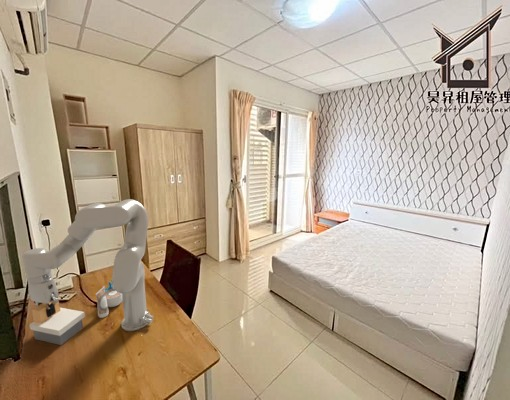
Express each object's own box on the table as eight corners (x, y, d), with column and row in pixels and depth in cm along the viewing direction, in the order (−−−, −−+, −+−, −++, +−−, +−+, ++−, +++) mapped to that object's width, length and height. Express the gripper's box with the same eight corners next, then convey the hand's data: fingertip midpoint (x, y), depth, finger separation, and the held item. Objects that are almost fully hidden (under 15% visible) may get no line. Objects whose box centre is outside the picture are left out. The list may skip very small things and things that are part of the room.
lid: (85, 316, 105) (82, 300, 104) (59, 335, 95) (56, 318, 93) (57, 311, 108) (54, 295, 107) (30, 329, 97) (26, 312, 96)
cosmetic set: (108, 320, 111) (104, 286, 107) (89, 320, 111) (84, 285, 107) (134, 289, 135) (131, 260, 131) (118, 289, 135) (115, 260, 131)
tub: (83, 327, 106) (81, 316, 105) (61, 345, 96) (59, 333, 95) (58, 322, 109) (56, 311, 107) (34, 339, 99) (32, 327, 98)
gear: (99, 298, 126) (119, 292, 129) (96, 288, 125) (117, 283, 128) (105, 288, 136) (123, 284, 140) (102, 279, 135) (121, 275, 139)
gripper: (64, 275, 100) (71, 311, 104) (34, 270, 103) (41, 305, 107) (46, 284, 93) (53, 323, 97) (13, 279, 96) (22, 317, 100)
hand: (47, 313), depth 102 cm, fingers closed on lid, 4 cm apart
